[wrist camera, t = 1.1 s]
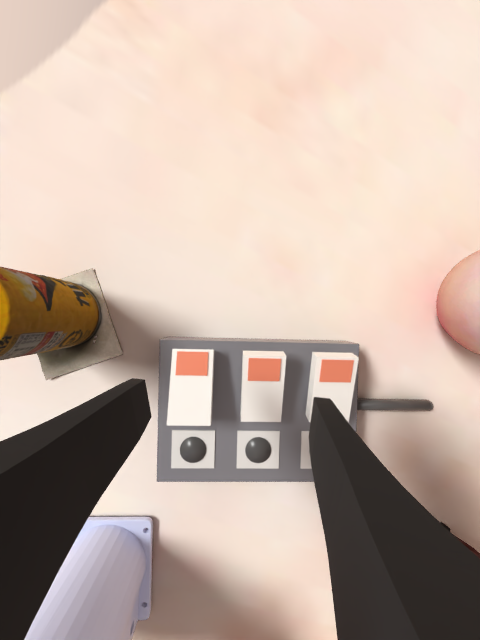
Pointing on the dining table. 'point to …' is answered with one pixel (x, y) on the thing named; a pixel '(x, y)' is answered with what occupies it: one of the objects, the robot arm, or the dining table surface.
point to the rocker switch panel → (250, 437)
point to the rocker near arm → (191, 387)
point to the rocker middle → (262, 386)
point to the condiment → (55, 321)
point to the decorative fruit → (462, 303)
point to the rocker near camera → (332, 380)
